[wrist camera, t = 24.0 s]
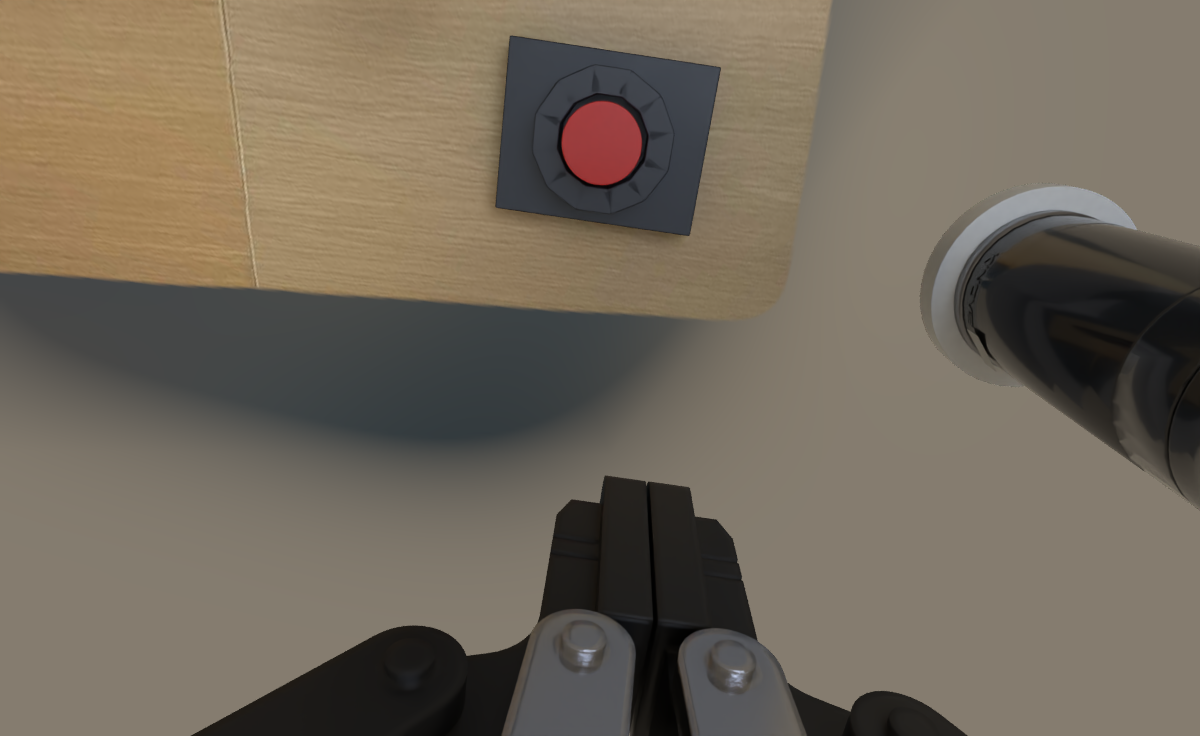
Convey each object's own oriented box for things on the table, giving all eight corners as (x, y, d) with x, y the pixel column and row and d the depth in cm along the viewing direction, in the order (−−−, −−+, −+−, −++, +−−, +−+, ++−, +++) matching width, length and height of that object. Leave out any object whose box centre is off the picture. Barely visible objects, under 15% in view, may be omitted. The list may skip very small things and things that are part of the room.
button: (647, 106, 32) (648, 107, 30) (634, 186, 33) (635, 190, 32) (569, 95, 32) (566, 95, 30) (560, 175, 33) (557, 179, 32)
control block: (716, 68, 34) (726, 65, 31) (686, 230, 37) (692, 242, 34) (515, 38, 34) (503, 31, 31) (500, 203, 37) (488, 212, 34)
